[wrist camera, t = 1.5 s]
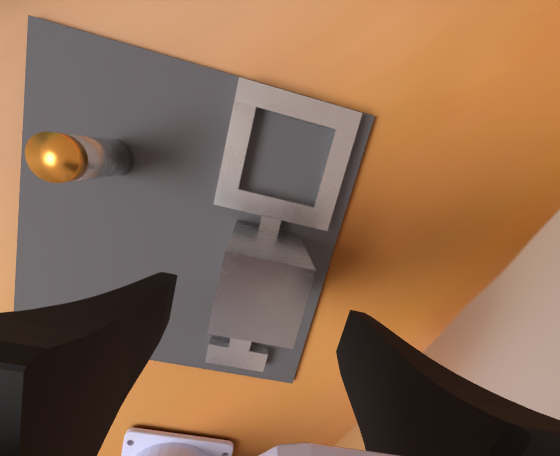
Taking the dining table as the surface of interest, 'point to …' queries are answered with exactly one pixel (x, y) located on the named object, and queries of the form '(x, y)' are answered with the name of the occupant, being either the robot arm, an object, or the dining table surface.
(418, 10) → the dining table surface
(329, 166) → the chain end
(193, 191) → the mat
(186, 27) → the dining table surface
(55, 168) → the pin
